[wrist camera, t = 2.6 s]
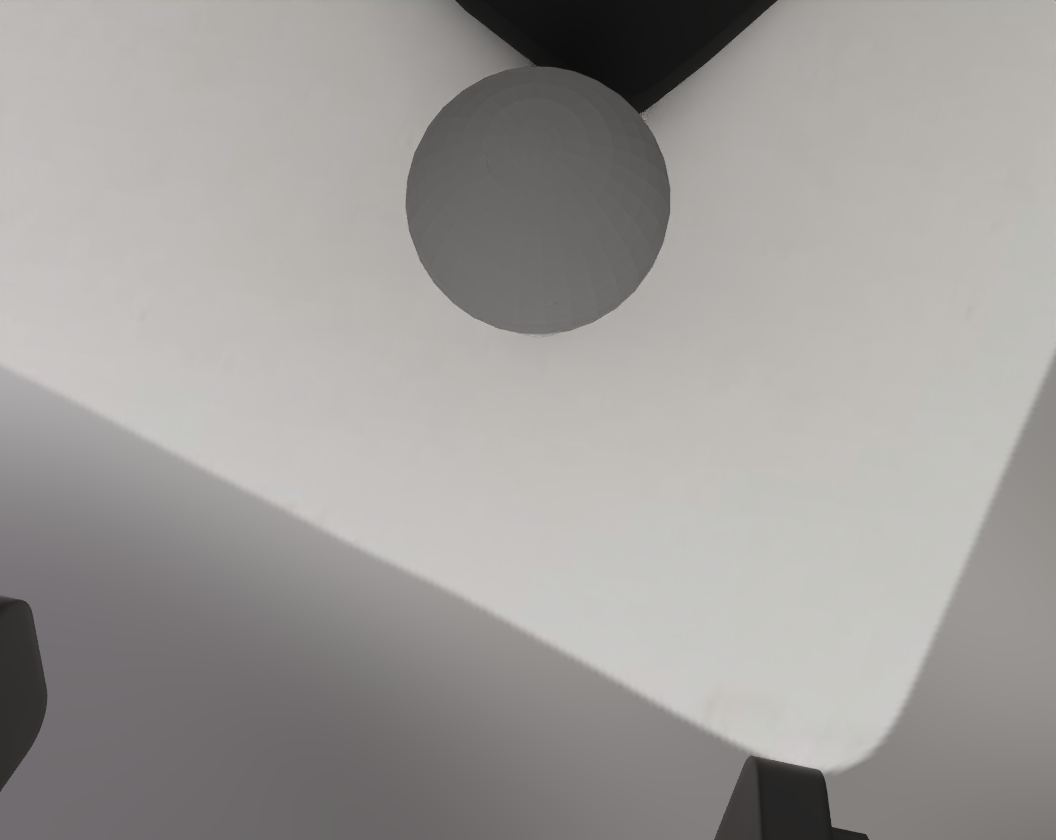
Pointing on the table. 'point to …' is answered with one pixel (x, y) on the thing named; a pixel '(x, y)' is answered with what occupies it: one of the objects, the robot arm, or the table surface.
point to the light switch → (620, 37)
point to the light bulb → (538, 200)
